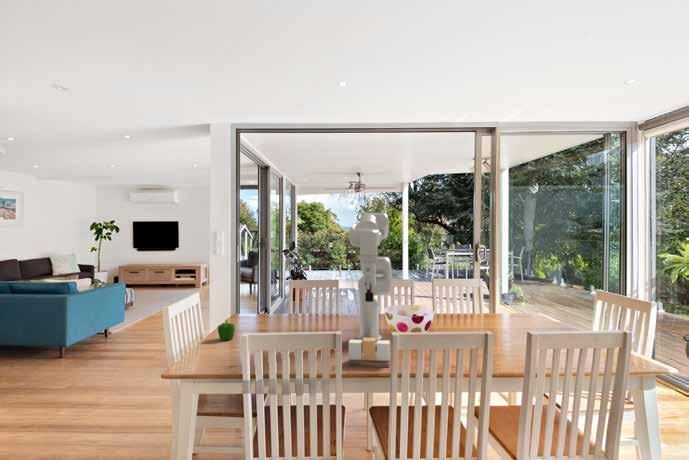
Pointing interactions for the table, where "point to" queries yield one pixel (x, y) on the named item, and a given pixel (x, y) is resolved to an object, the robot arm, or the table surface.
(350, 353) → the rail board
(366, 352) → the block
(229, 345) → the table surface
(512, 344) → the table surface
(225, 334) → the bell pepper
